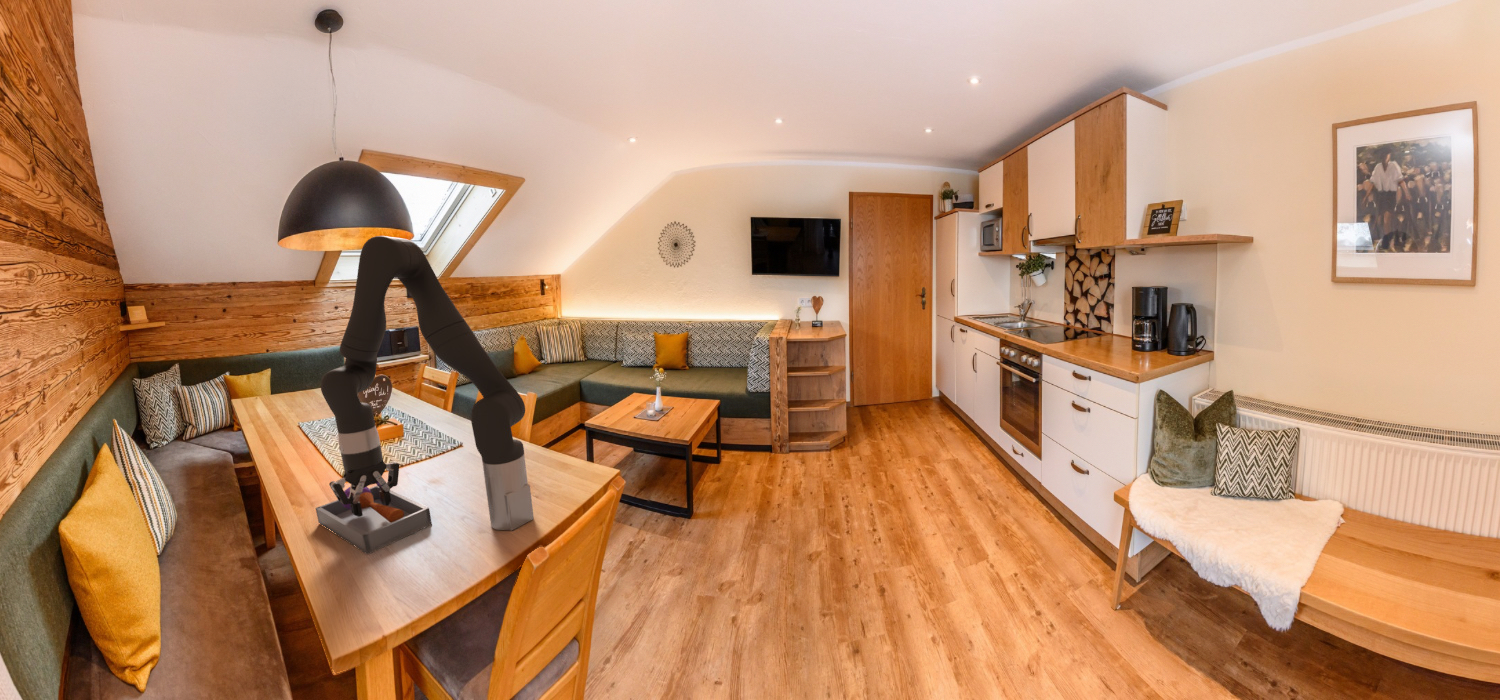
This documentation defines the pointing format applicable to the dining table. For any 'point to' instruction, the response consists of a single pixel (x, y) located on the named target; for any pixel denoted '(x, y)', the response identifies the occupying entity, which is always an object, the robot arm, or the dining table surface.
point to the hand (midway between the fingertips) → (372, 509)
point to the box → (374, 521)
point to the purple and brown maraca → (376, 506)
